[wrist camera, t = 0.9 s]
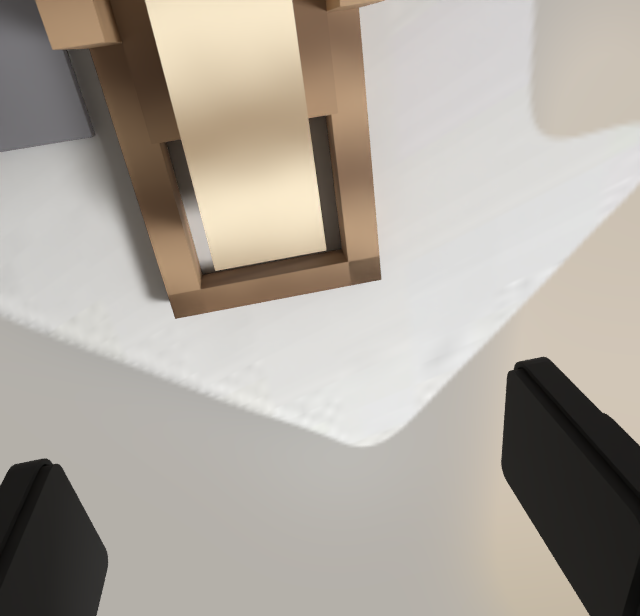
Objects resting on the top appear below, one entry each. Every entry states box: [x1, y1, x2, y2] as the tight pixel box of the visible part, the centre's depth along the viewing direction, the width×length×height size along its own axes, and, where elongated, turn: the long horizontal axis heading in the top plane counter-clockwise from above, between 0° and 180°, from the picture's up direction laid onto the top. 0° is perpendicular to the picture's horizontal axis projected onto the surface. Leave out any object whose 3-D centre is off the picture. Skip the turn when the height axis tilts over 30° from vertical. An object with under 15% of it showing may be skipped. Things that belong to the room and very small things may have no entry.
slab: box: [145, 0, 326, 271], centre depth 21 cm, size 12×5×3 cm, turn 8°
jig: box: [35, 0, 384, 319], centre depth 22 cm, size 20×12×7 cm, turn 8°
